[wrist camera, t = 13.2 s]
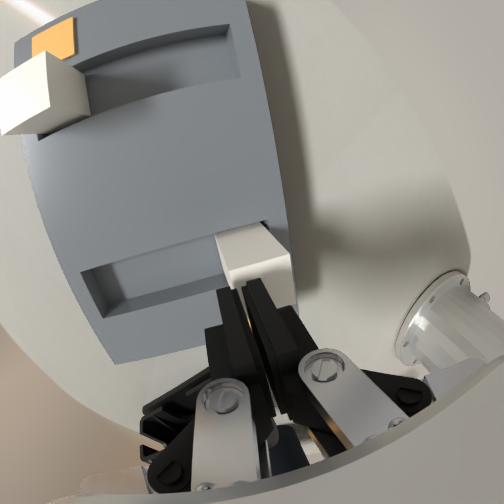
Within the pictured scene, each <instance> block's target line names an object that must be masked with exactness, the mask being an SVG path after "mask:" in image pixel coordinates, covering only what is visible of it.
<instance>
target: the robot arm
mask: <svg viewBox="0 0 504 504" xmlns="http://www.w3.org/2000/svg"><path fill="white" fill-rule="evenodd" d="M241 289H242V293H243V297H244V301H245V305H246V309H247V313H248V317H249V321H250V325H251V328H250V325H249V322H248V319H247V316H246V313H245V311H244V308H243V305H242V302H241V299H240V296H239V293H238V290H237V288H235V289H231V288H230V286H227V287H224V288H220V289H216V294H217V299H218V304H219V308H220V313H221V318H222V322H223V324H221V325H217V326H213V327H209V328H205V329H204V333H205V341H206V348H207V356H208V363H209V370H210V377H211V382H210V383H208V384H207V385H206V386H204V387H203V388H202V389H201V391H200V392H199V394H198V397H197V401H196V413H195V417H194V418H193V419H192V421H191V422H190V423H189V424H188V425H187V426H186V427H185V428H184V429H183V430H182V431H181V432H180V433H179V434H178V435H177V437H176V438H175V439H174V440H173V441H172V442H171V443H170V444H169V445H168V446H167V447H166V448H165V449H164V450H163V451H162V452H161V453H160V454H159V455H158V456H157V457H156V458H155V459H154V460H153V461H152V463H151V464H150V465H149V466H146V467H142V466H141V465H139V466H135V467H131V468H128V469H123V470H119V471H114V472H109V473H104V474H99V475H93V476H90V477H88V478H86V479H85V480H84V481H83V482H82V484H81V486H80V495H73V496H68V497H63V498H61V499H57V500H54V501H52V502H50V503H48V504H504V320H503V319H501V318H500V317H499V316H498V315H496V314H495V313H493V312H492V311H491V310H490V307H489V305H488V304H487V302H488V301H489V300H490V297H489V294H488V293H486V292H485V293H483V294H482V295H480V296H479V297H477V296H476V295H474V294H473V293H472V292H470V282H469V280H468V278H467V277H466V276H465V275H463V274H462V273H460V272H457V271H453V272H449V273H447V274H445V275H443V276H441V277H440V278H439V279H437V280H436V281H435V282H434V283H433V284H432V285H431V286H429V287H428V288H427V289H426V291H425V292H424V293H423V294H422V295H421V296H420V298H419V299H418V300H417V302H416V303H415V304H414V306H413V307H412V309H411V310H410V312H409V314H408V315H407V317H406V319H405V321H404V323H403V325H402V327H401V329H400V332H399V334H398V337H397V341H396V349H395V351H396V356H397V358H398V359H399V360H400V361H401V362H402V363H403V364H404V365H407V366H412V365H416V364H419V363H421V364H422V365H423V366H424V367H425V368H426V369H427V370H428V371H429V372H430V374H428V375H425V376H424V379H422V380H418V379H415V378H410V377H403V376H396V375H390V374H384V373H379V372H373V371H368V370H362V369H359V368H358V367H357V366H356V365H355V364H354V363H353V362H352V361H351V360H350V359H349V358H348V357H347V356H346V355H345V354H343V353H342V352H341V351H338V350H335V349H329V348H324V349H318V347H317V345H316V344H315V342H314V340H313V339H312V337H311V336H310V334H309V332H308V331H307V329H306V328H305V326H304V324H303V323H302V321H301V320H300V318H299V316H298V315H297V313H296V312H295V310H294V308H293V307H292V306H291V305H288V306H284V307H281V308H278V309H277V308H276V306H275V304H274V302H273V301H272V299H271V297H270V295H269V293H268V291H267V289H266V287H265V285H264V284H263V282H262V280H261V278H257V279H253V280H249V281H246V286H242V287H241ZM251 329H252V330H251ZM265 372H266V373H265ZM266 375H267V377H266ZM267 378H268V381H269V383H270V386H271V389H272V391H273V394H274V397H275V400H276V402H277V405H278V408H279V410H280V413H281V415H282V414H285V413H287V414H288V417H289V419H290V421H291V420H293V422H294V423H297V424H300V425H303V426H305V429H306V431H307V432H308V434H309V435H310V437H311V438H312V440H313V441H314V443H315V444H316V445H317V447H318V448H319V450H320V451H321V453H322V454H323V455H324V457H325V458H326V459H325V460H322V461H320V462H317V463H314V464H311V465H309V466H306V467H303V468H300V469H297V470H293V471H290V472H287V473H284V474H280V475H276V476H273V477H272V475H271V467H270V459H269V451H268V443H267V440H266V439H267V438H268V437H269V435H270V434H271V432H272V431H273V429H274V427H273V423H272V420H271V418H272V417H275V416H276V412H275V409H274V405H273V401H272V397H271V393H270V389H269V385H268V381H267Z"/></svg>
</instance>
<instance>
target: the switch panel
mask: <svg viewBox="0 0 504 504" xmlns="http://www.w3.org/2000/svg"><path fill="white" fill-rule="evenodd" d="M45 50H46V51H47V52H49V53H51V54H52V55H54V56H56V57H57V58H59V59H60V60H62V61H64V62H65V63H67V64H68V65H70V66H72V67H73V68H75V69H76V70H78V71H79V72H81V73H83V74H84V75H85V81H86V88H87V95H88V101H89V107H90V112H91V116H90V117H88V118H85V119H83V120H81V121H78V122H76V123H74V124H71V125H69V126H67V127H65V128H63V129H60V130H58V131H56V132H54V133H52V134H21V139H22V145H23V150H24V155H25V159H26V164H27V168H28V172H29V176H30V180H31V184H32V188H33V191H34V195H35V198H36V201H37V205H38V208H39V211H40V214H41V217H42V220H43V223H44V226H45V228H46V231H47V234H48V236H49V239H50V242H51V244H52V247H53V249H54V252H55V254H56V257H57V259H58V261H59V264H60V266H61V268H62V270H63V273H64V275H65V277H66V279H67V281H68V283H69V285H70V287H71V290H72V292H73V294H74V296H75V298H76V299H77V301H78V303H79V305H80V307H81V309H82V311H83V313H84V315H85V316H86V318H87V320H88V322H89V323H90V325H91V327H92V329H93V330H94V332H95V334H96V335H97V337H98V339H99V340H100V342H101V344H102V345H103V347H104V348H105V350H106V352H107V353H108V355H109V356H110V358H111V359H112V361H113V362H114V364H115V365H116V364H121V363H127V362H132V361H137V360H141V359H146V358H151V357H155V356H160V355H164V354H169V353H173V352H177V351H181V350H185V349H189V348H193V347H197V346H201V345H205V344H206V341H205V333H204V329H205V328H209V327H213V326H217V325H221V324H223V322H222V318H221V313H220V308H219V304H218V299H217V294H216V289H220V288H224V287H227V286H229V284H228V282H227V279H226V276H225V273H224V270H223V267H222V263H221V259H220V255H219V251H218V247H217V243H216V239H215V235H214V233H217V232H221V231H225V230H229V229H232V228H236V227H240V226H244V225H248V224H252V223H255V222H260V223H261V224H262V225H263V226H264V227H265V228H266V229H267V230H268V231H269V232H270V233H271V234H272V235H273V236H274V238H275V239H276V240H277V241H278V242H279V243H280V244H281V245H282V246H283V247H284V248H285V249H286V250H287V251H288V252H289V254H290V259H291V267H292V275H293V283H294V292H295V300H296V304H294V305H291V306H292V307H293V308H294V310H295V312H296V313H297V315H298V316H299V310H298V301H297V292H296V284H295V275H294V267H293V259H292V251H291V244H290V236H289V229H288V222H287V215H286V208H285V201H284V194H283V188H282V181H281V175H280V169H279V163H278V157H277V151H276V145H275V139H274V134H273V128H272V122H271V117H270V112H269V106H268V101H267V96H266V91H265V86H264V81H263V76H262V71H261V66H260V61H259V57H258V52H257V48H256V43H255V39H254V34H253V30H252V26H251V21H250V17H249V13H248V9H247V5H246V1H245V0H98V1H95V2H93V3H90V4H88V5H85V6H83V7H81V8H78V9H76V10H74V11H72V12H69V13H67V14H65V15H63V16H61V17H59V18H57V19H55V20H53V21H51V22H49V23H47V24H45V25H44V26H42V27H40V28H38V29H36V30H35V31H33V32H31V33H30V34H28V35H26V36H25V37H23V38H21V39H20V40H18V41H17V42H15V48H14V69H15V68H16V67H18V66H20V65H21V64H23V63H24V62H26V61H28V60H29V59H31V58H33V57H34V56H36V55H38V54H40V53H41V52H43V51H45ZM248 322H249V325H250V321H249V319H248ZM250 328H251V325H250ZM251 330H252V329H251Z"/></svg>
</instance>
